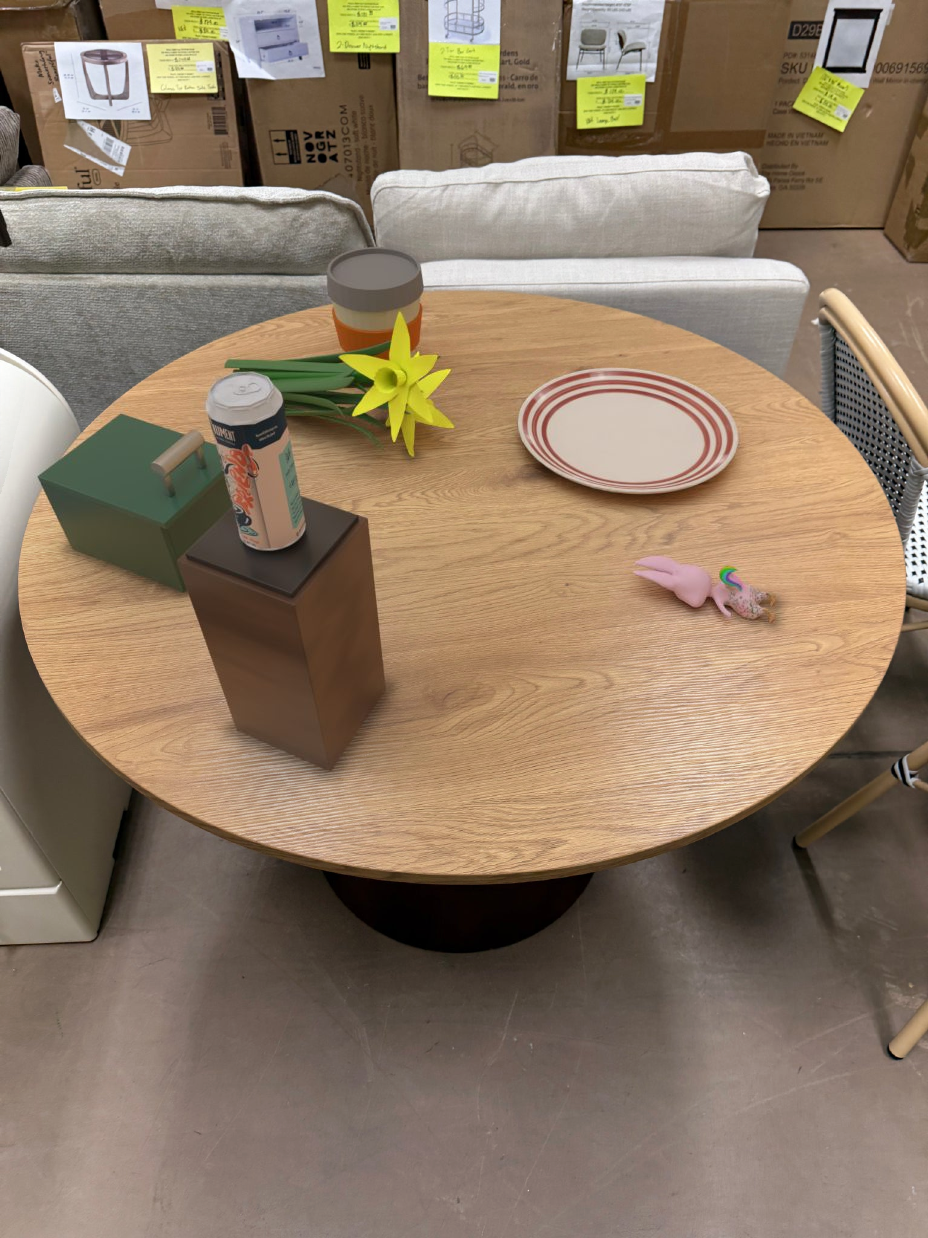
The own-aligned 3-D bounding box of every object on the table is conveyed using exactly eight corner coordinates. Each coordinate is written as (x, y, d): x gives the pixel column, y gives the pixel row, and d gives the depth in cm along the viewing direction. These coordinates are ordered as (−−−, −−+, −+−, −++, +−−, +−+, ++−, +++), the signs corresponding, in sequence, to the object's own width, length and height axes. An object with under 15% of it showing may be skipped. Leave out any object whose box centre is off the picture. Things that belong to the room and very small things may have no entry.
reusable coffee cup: (324, 362, 117) (310, 257, 106) (403, 341, 121) (397, 238, 110) (358, 406, 109) (347, 299, 98) (441, 382, 113) (440, 277, 102)
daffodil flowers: (293, 369, 117) (509, 370, 100) (262, 463, 114) (479, 481, 98) (211, 298, 102) (447, 285, 85) (173, 404, 100) (409, 412, 83)
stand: (331, 775, 72) (293, 600, 55) (237, 733, 74) (174, 555, 58) (386, 692, 78) (367, 512, 61) (298, 657, 80) (256, 475, 64)
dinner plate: (473, 430, 106) (473, 408, 103) (623, 363, 117) (626, 342, 115) (622, 545, 92) (627, 523, 89) (777, 456, 103) (785, 434, 100)
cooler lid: (243, 458, 86) (233, 418, 82) (166, 529, 78) (152, 489, 75) (122, 419, 90) (108, 379, 87) (39, 482, 83) (20, 441, 79)
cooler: (253, 525, 93) (237, 456, 86) (185, 596, 86) (160, 527, 79) (147, 487, 98) (123, 419, 90) (73, 552, 90) (39, 482, 83)
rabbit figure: (765, 602, 88) (633, 558, 89) (792, 565, 83) (651, 519, 84) (763, 645, 84) (624, 598, 85) (790, 608, 79) (643, 559, 80)
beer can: (233, 522, 60) (193, 377, 51) (295, 504, 61) (268, 361, 52) (250, 563, 57) (211, 418, 48) (315, 544, 58) (289, 399, 50)
